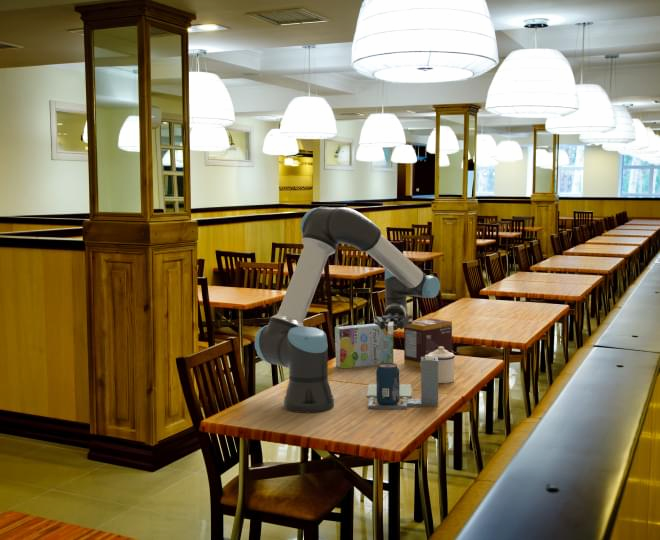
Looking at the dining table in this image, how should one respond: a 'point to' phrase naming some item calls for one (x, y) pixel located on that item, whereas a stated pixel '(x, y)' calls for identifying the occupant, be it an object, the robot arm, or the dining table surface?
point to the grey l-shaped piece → (427, 388)
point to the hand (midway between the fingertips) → (390, 329)
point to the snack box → (362, 346)
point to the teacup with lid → (444, 365)
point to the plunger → (429, 357)
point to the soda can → (387, 384)
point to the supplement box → (426, 339)
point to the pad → (403, 390)
